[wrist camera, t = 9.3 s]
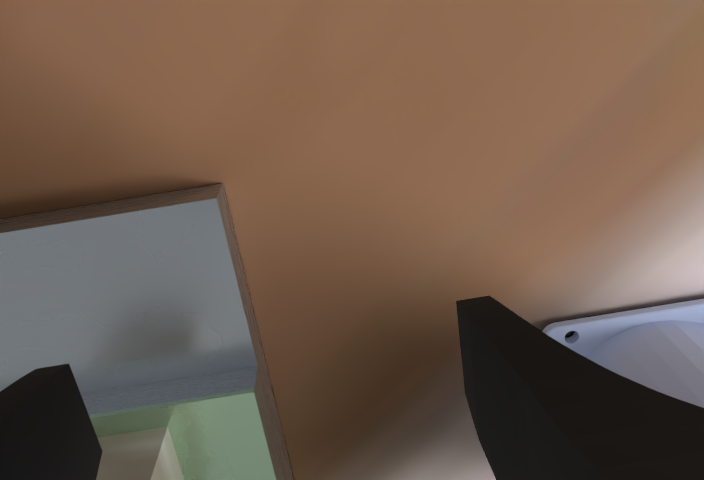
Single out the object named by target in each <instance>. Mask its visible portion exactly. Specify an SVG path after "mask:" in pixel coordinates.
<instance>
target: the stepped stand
mask: <svg viewBox="0 0 704 480" xmlns="http://www.w3.org/2000/svg"><path fill="white" fill-rule="evenodd" d="M62 364H69V365H70V367H71V370H72V373H73V375H74V378H75V380H76V383H77V386H78V388H79V391H80V394H81V396H82V399H83V401H84V404H85V407H86V409H87V412H88V414H89V417H90V420H91V422H92V425H93V428H94V430H95V433H96V435H97V437H103V436H110V435H116V434H123V433H129V432H136V431H142V430H149V429H155V428H162V427H168V430H169V433H170V436H171V439H172V442H173V445H174V449H175V452H176V455H177V458H178V461H179V464H180V468H181V471H182V474H183V477H184V480H294V478H293V474H292V470H291V465H290V461H289V457H288V453H287V449H286V445H285V440H284V436H283V432H282V428H281V424H280V420H279V415H278V411H277V407H276V403H275V399H274V395H273V390H272V386H271V382H270V378H269V374H268V369H267V365H266V361H265V357H264V353H263V349H262V344H261V340H260V336H259V332H258V328H257V324H256V319H255V315H254V311H253V307H252V303H251V298H250V294H249V290H248V286H247V282H246V278H245V273H244V269H243V265H242V261H241V257H240V253H239V248H238V244H237V240H236V236H235V232H234V228H233V223H232V219H231V215H230V211H229V207H228V202H227V198H226V194H225V190H224V186H223V183H221V184H215V185H209V186H203V187H197V188H191V189H184V190H178V191H172V192H166V193H160V194H154V195H147V196H141V197H135V198H129V199H123V200H117V201H110V202H104V203H98V204H92V205H86V206H79V207H73V208H67V209H61V210H55V211H49V212H42V213H36V214H30V215H24V216H18V217H12V218H5V219H0V391H2V390H3V389H5V388H6V387H8V386H9V385H11V384H12V383H14V382H15V381H17V380H18V379H20V378H21V377H23V376H24V375H26V374H28V373H30V372H31V371H33V370H35V369H38V368H44V367H50V366H56V365H62Z"/></svg>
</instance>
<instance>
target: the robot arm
mask: <svg viewBox="0 0 704 480" xmlns="http://www.w3.org/2000/svg"><path fill="white" fill-rule="evenodd" d="M456 304H457V314H458V325H459V335H460V345H461V355H462V365H463V376H464V386H465V394H466V397H467V401H468V404H469V408H470V411H471V415H472V418H473V422H474V425H475V428H476V431H477V435H478V438H479V441H480V443H481V445H482V448H483V450H484V452H485V455H486V457H487V459H488V462H489V464H490V466H491V469H492V471H493V473H494V475H495V478H496V480H704V299H698V300H692V301H686V302H679V303H673V304H667V305H661V306H654V307H648V308H642V309H636V310H630V311H623V312H617V313H611V314H605V315H599V316H592V317H586V318H580V319H574V320H567V321H561V322H555V323H552V324H549V325H548V326H546V327H545V328H544V329H543V331H540V330H539V329H537V328H536V327H534V326H533V325H531V324H530V323H528V322H527V321H525V320H524V319H522V318H521V317H519V316H518V315H517V314H515V313H514V312H512V311H511V310H509V309H508V308H506V307H505V306H504V305H502V304H501V303H499V302H498V301H496V300H495V299H493V298H492V297H490V296H485V297H478V298H472V299H466V300H460V301H456ZM570 331H575V332H574V334H573V335H572V336H571V337H569V338H565V335H566V334H567V333H568V332H570ZM101 456H102V449H101V446H100V443H99V441H98V438H97V435H96V433H95V430H94V428H93V425H92V422H91V420H90V417H89V414H88V412H87V409H86V407H85V404H84V401H83V399H82V396H81V394H80V391H79V388H78V386H77V383H76V380H75V378H74V375H73V373H72V370H71V367H70V365H69V364H62V365H56V366H50V367H44V368H38V369H35V370H33V371H31V372H30V373H28V374H26V375H24V376H23V377H21V378H20V379H18V380H17V381H15V382H14V383H12V384H11V385H9V386H8V387H6V388H5V389H3V390H2V391H0V480H96V478H97V473H98V469H99V464H100V460H101Z"/></svg>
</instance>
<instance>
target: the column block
mask: <svg viewBox="0 0 704 480" xmlns="http://www.w3.org/2000/svg"><path fill="white" fill-rule="evenodd" d="M97 438H98V441H99V443H100V446H101V449H102V456H101V460H100V464H99V469H98V473H97V478H96V480H184V477H183V474H182V471H181V468H180V464H179V461H178V458H177V455H176V452H175V449H174V445H173V442H172V439H171V436H170V433H169V430H168V427H162V428H155V429H149V430H142V431H136V432H129V433H123V434H116V435H110V436H103V437H97Z"/></svg>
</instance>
